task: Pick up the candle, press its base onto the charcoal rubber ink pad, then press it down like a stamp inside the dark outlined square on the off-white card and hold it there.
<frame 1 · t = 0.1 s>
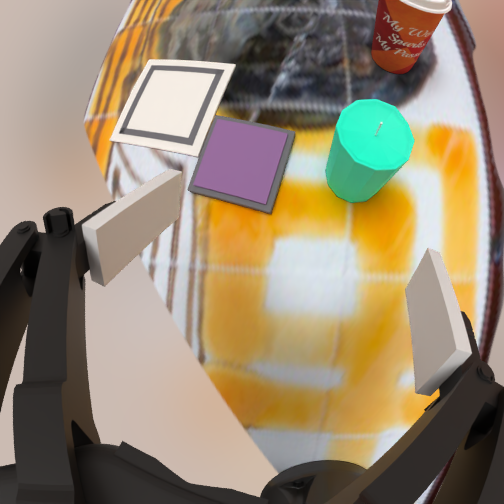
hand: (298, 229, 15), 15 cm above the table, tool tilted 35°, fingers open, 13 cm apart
ink pad: (242, 162, 31), on the table
marked card: (170, 101, 33), on the table
candle: (353, 175, 30), on the table
paper cup: (392, 58, 30), on the table
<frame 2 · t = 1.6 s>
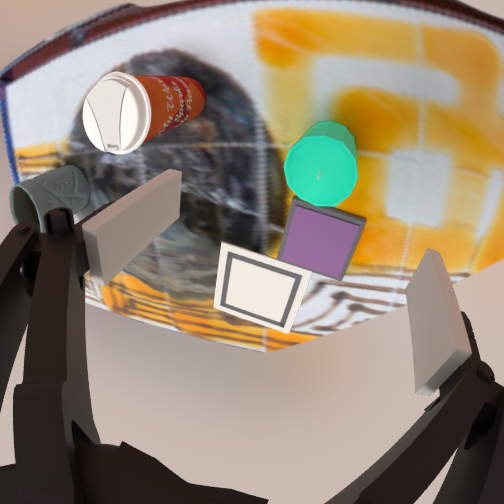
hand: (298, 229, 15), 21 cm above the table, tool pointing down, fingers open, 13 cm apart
ink pad: (319, 238, 38), on the table
marked card: (258, 290, 45), on the table
candle: (329, 146, 32), on the table
paper cup: (186, 98, 33), on the table
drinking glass: (74, 185, 46), on the table
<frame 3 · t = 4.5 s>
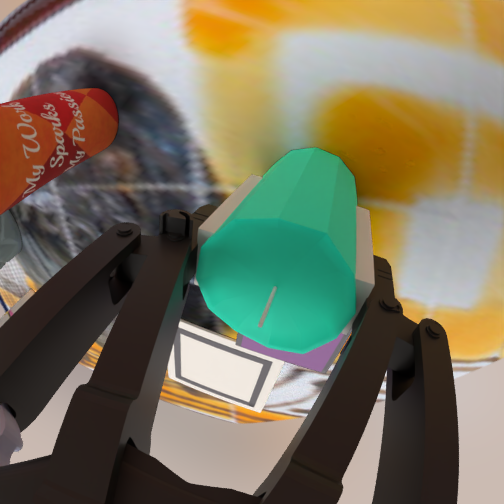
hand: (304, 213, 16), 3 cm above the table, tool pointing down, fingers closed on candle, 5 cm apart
ink pad: (295, 322, 25), on the table
marked card: (218, 369, 33), on the table
candle: (311, 191, 19), on the table, touching gripper
paper cup: (96, 118, 21), on the table
ink cartridge box: (36, 304, 43), on the table
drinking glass: (7, 225, 34), on the table
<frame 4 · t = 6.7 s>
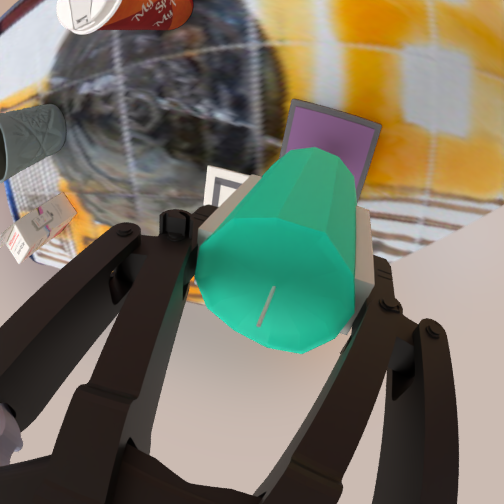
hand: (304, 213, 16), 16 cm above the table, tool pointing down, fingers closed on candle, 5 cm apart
ink pad: (327, 151, 29), on the table
marked card: (252, 228, 37), on the table
candle: (311, 191, 19), point 12 cm above the table, touching gripper
paper cup: (172, 8, 25), on the table
ink cartridge box: (63, 212, 47), on the table
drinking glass: (51, 126, 38), on the table
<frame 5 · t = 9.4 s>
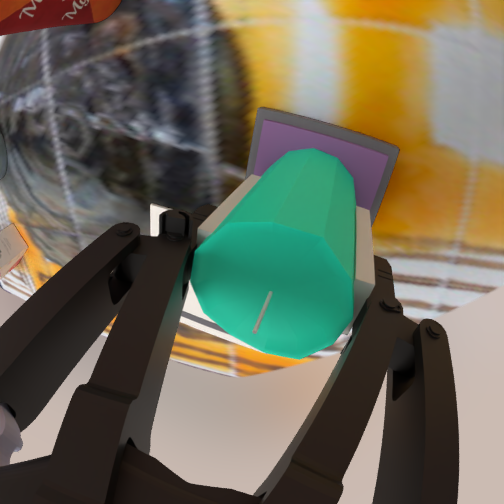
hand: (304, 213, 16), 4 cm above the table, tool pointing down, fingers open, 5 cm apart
ink pad: (313, 186, 20), on the table
marked card: (214, 285, 27), on the table
candle: (309, 192, 19), point 1 cm above the table, touching gripper, ink pad
ink cartridge box: (17, 244, 38), on the table
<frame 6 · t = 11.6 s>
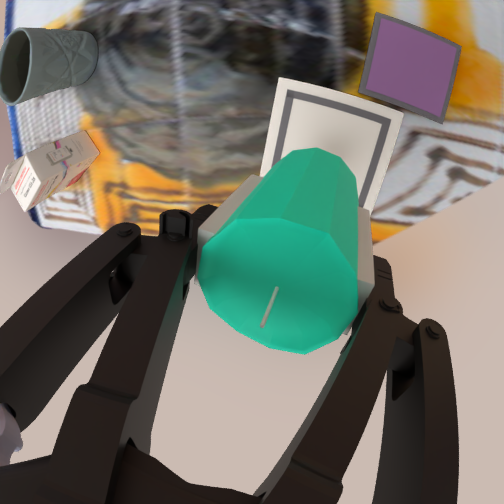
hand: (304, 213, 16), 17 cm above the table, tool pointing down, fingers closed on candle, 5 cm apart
ink pad: (410, 67, 22), on the table
marked card: (327, 150, 30), on the table
candle: (312, 191, 19), point 13 cm above the table, touching gripper
ink cartridge box: (82, 156, 40), on the table
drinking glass: (79, 56, 31), on the table
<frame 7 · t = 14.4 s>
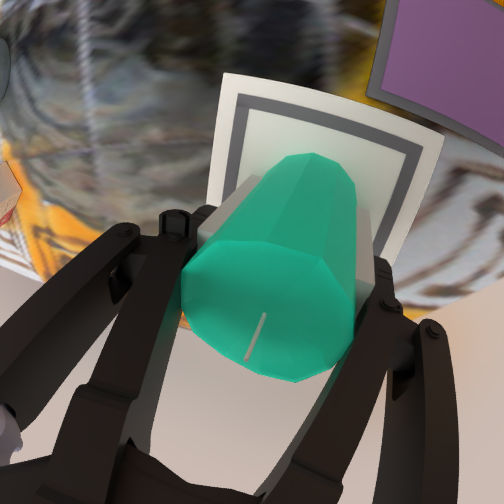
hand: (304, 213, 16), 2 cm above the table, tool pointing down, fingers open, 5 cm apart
ink pad: (456, 54, 11), on the table
marked card: (309, 198, 18), on the table
candle: (309, 199, 18), resting on marked card
ink cartridge box: (8, 192, 28), on the table
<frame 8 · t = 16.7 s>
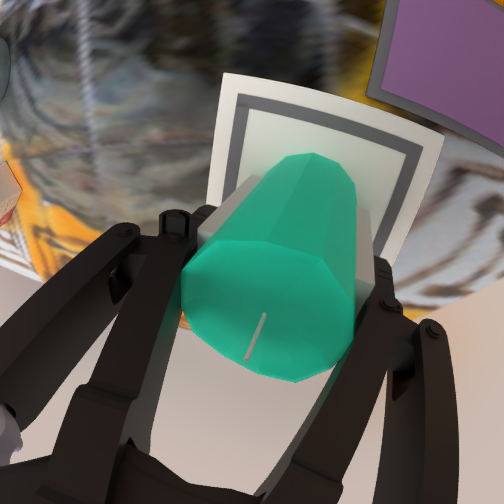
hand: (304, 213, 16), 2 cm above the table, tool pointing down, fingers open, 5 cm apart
ink pad: (456, 54, 11), on the table
marked card: (309, 198, 18), on the table
candle: (309, 199, 18), resting on marked card
ink cartridge box: (8, 192, 28), on the table
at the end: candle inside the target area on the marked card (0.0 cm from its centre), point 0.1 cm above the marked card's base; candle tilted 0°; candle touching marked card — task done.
